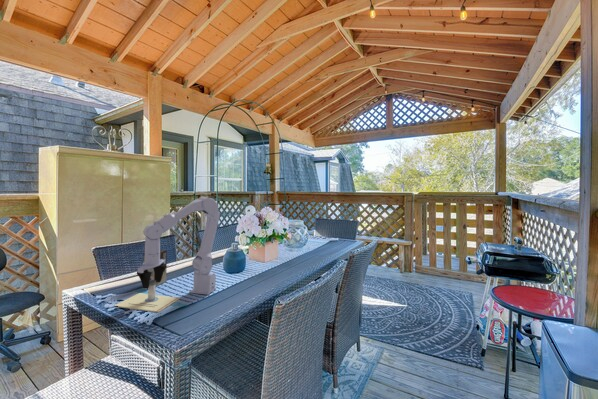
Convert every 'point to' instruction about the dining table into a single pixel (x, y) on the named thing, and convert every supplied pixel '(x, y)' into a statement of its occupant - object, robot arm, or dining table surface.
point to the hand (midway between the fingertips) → (152, 284)
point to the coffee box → (162, 256)
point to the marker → (151, 290)
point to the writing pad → (147, 302)
